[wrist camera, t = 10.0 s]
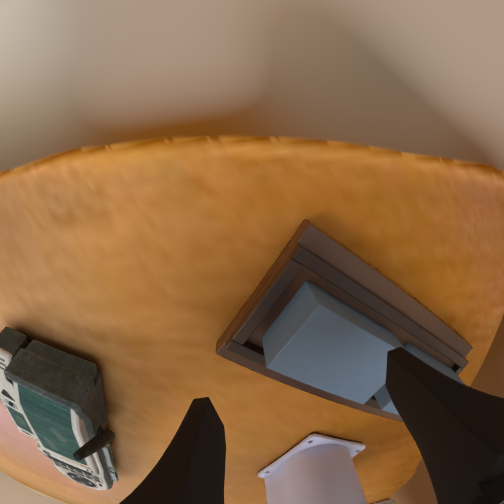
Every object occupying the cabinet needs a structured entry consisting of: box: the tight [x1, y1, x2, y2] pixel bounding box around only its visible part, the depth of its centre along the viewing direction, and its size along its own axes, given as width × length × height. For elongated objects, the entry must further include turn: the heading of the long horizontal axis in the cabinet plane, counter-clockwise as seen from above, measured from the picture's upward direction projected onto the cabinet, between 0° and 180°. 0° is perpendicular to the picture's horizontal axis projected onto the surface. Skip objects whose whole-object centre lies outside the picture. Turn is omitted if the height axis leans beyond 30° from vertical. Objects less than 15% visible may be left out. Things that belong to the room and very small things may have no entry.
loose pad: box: [262, 280, 406, 404], centre depth 17 cm, size 5×8×3 cm, turn 57°
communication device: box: [0, 327, 118, 490], centre depth 18 cm, size 12×24×9 cm, turn 165°
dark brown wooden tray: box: [216, 220, 472, 422], centre depth 19 cm, size 10×21×2 cm, turn 57°
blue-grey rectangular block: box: [374, 342, 465, 415], centre depth 19 cm, size 5×8×3 cm, turn 57°
